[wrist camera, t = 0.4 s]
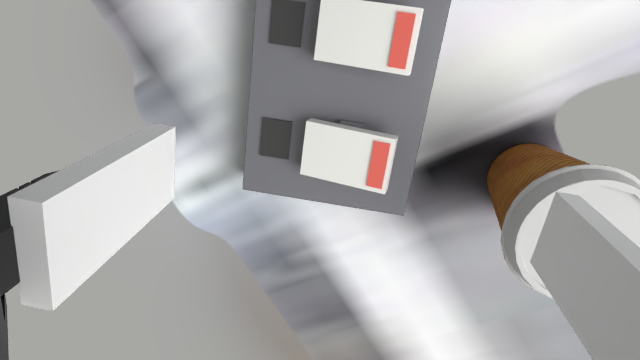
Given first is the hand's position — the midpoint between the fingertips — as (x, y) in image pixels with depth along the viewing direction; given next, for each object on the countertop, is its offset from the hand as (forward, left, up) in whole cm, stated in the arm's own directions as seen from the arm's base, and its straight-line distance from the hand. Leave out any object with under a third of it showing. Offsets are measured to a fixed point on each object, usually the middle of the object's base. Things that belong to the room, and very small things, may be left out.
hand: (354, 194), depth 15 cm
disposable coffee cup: (+5, +15, -24) cm, 29 cm away
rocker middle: (-5, 0, -19) cm, 19 cm away
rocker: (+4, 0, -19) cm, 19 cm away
